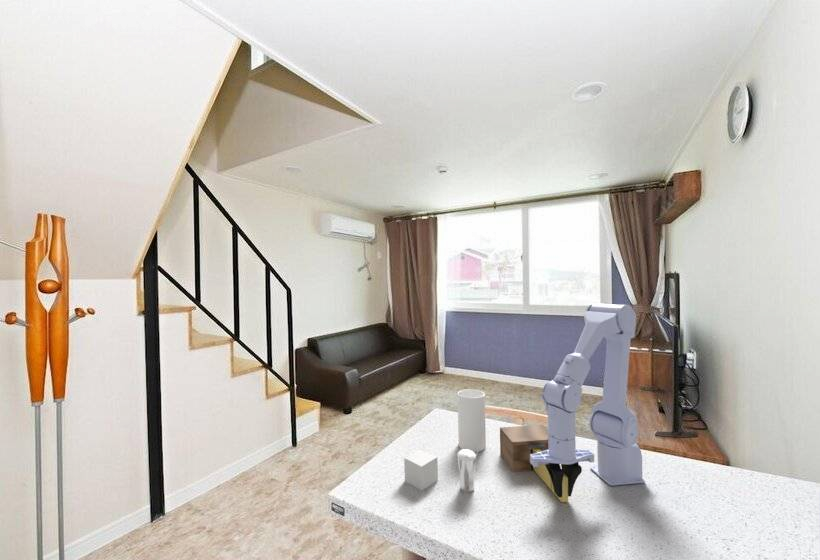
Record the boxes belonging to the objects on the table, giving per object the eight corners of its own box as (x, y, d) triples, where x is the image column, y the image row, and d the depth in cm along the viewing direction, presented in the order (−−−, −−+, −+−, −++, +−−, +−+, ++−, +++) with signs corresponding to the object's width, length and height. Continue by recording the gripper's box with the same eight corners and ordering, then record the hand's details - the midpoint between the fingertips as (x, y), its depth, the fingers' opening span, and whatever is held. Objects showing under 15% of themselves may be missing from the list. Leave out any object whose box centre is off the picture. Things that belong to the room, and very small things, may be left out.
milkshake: (480, 495, 81) (479, 453, 81) (457, 493, 82) (456, 451, 82) (480, 484, 85) (479, 444, 85) (458, 482, 86) (457, 442, 86)
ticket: (538, 468, 92) (538, 447, 92) (568, 501, 78) (568, 477, 78) (532, 468, 92) (532, 447, 92) (561, 502, 78) (561, 478, 78)
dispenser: (543, 451, 101) (542, 424, 101) (560, 469, 91) (560, 439, 91) (500, 454, 100) (499, 427, 100) (513, 472, 90) (513, 443, 90)
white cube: (422, 491, 83) (421, 466, 83) (404, 481, 87) (404, 458, 87) (438, 480, 88) (437, 456, 87) (420, 471, 92) (420, 449, 92)
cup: (488, 451, 101) (487, 397, 101) (460, 452, 101) (459, 398, 101) (482, 438, 109) (481, 388, 109) (457, 439, 109) (456, 389, 109)
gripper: (580, 425, 83) (582, 481, 83) (523, 429, 82) (524, 486, 82) (599, 438, 76) (601, 499, 76) (537, 443, 75) (538, 505, 75)
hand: (562, 494), depth 79 cm, fingers closed on ticket, 2 cm apart
